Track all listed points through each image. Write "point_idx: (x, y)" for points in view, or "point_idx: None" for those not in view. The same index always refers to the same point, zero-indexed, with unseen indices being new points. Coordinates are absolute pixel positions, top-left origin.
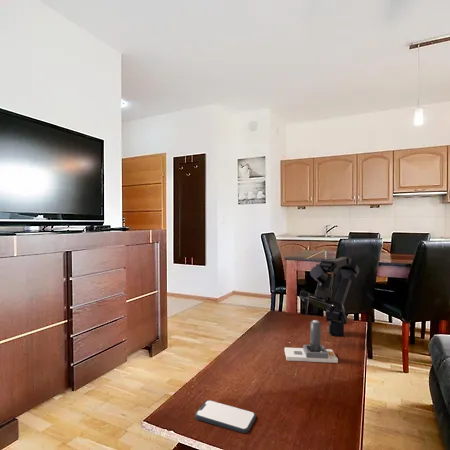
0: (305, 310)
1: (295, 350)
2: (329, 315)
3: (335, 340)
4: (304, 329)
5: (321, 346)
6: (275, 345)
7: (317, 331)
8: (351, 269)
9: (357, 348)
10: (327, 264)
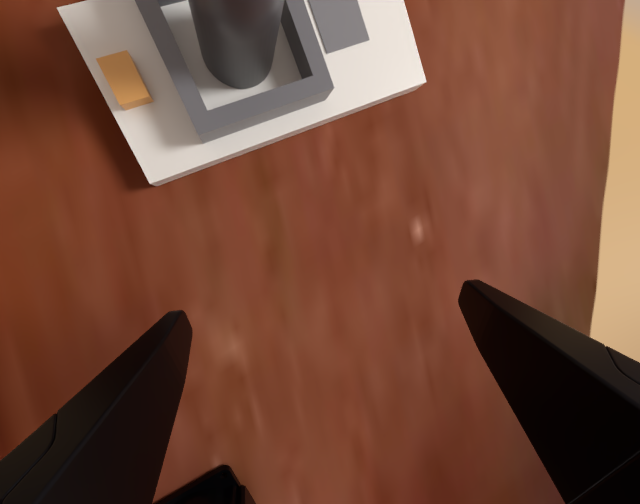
0: (533, 310)
1: (361, 57)
2: (88, 390)
3: (187, 409)
4: (389, 459)
5: (208, 111)
6: (468, 146)
7: None
8: None
9: (3, 361)
10: None
